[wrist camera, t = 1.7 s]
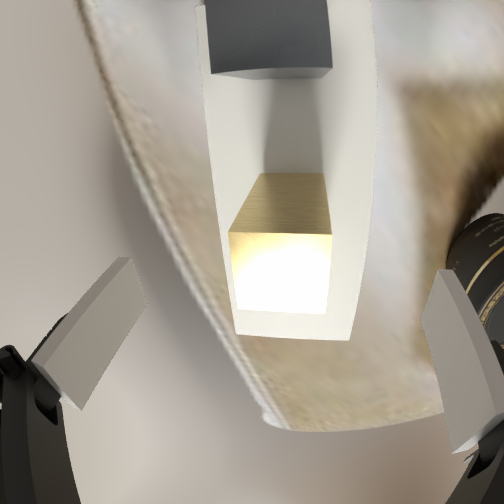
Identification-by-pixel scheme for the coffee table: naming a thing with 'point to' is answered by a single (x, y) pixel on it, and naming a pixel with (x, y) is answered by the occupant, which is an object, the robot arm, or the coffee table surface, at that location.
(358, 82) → the board
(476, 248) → the jar
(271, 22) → the fixed leg
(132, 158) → the coffee table surface
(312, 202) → the block
